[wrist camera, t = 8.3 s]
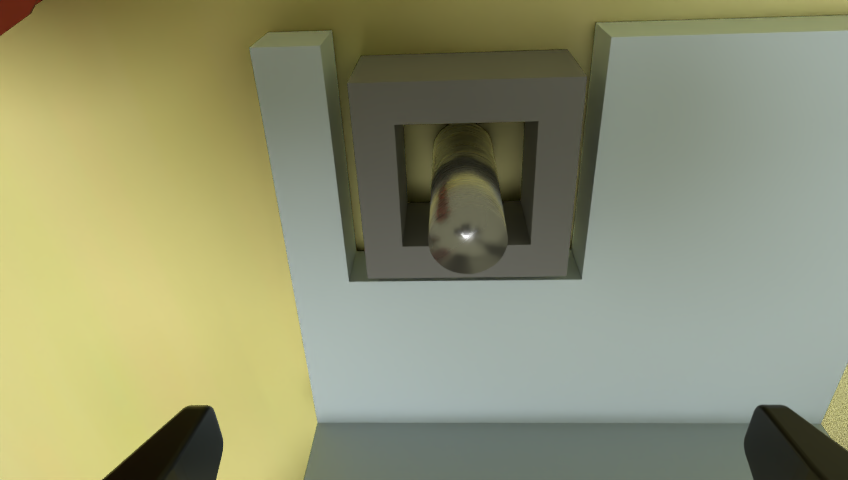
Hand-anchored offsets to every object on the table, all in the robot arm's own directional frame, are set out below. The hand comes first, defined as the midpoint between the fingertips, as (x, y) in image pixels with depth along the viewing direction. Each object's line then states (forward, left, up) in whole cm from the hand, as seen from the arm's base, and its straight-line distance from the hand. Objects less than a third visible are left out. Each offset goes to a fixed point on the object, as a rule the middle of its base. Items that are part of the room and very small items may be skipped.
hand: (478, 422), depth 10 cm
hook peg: (0, 0, -12) cm, 12 cm away
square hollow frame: (0, 0, -12) cm, 12 cm away
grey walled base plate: (-4, +4, -12) cm, 13 cm away
